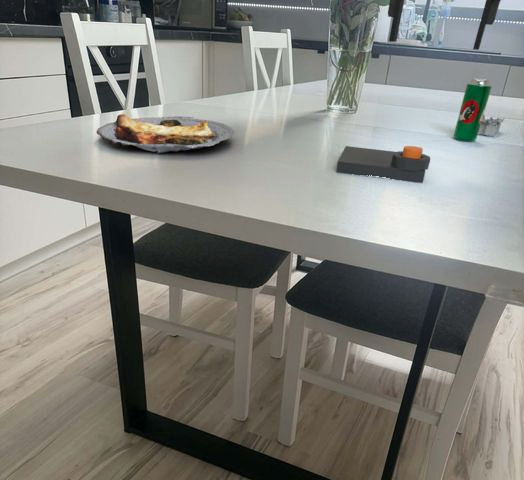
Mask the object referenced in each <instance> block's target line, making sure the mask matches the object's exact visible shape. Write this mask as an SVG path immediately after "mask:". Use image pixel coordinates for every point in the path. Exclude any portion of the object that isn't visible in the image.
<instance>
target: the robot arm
mask: <svg viewBox="0 0 524 480" xmlns="http://www.w3.org/2000/svg"><path fill="white" fill-rule="evenodd" d="M501 1H502V0H485V3H484V7H483V11H482V15H481V17H480V22H479V25H478V28H477V33H476V36H475V40H474V44H473V48H472V50H476V51H477V50H478V51H479V50H480V47H481V44H482V40H483V36H484V33H485V29H486V25H488V26H492V25H493V24H494V22H495V21H496V17H497V15H498V10H499V6H500V4H501ZM404 3H405V0H389V3H388V8H387V9H388V10H387V17H388V18H392V21H391V27H390V32H389V37H388V42H389V43H395V42H397V40H398V36H399V29H400V26H401V25H400V24H401V19H402V14H403V9H404Z"/></svg>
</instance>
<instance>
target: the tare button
mask: <svg viewBox="0 0 524 480" xmlns="http://www.w3.org/2000/svg"><path fill="white" fill-rule="evenodd" d="M402 151H403V153H402V156H403V157H407V158H414V159H421V155H422V154H423V148H422V147H420V146H415V145H405V146H403V149H402Z"/></svg>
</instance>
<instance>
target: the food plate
mask: <svg viewBox="0 0 524 480" xmlns="http://www.w3.org/2000/svg"><path fill="white" fill-rule="evenodd" d="M96 134H97V135H99V136H100V137H101V139H102V140H105V141H109V144H111V143H112V144H114V145H115V144H117V143H120V144H121V145H122V146H130V145H131V146H135V147H137V148H139V149H142V150H144V151H148V152H154V153H155V152H157V154H160V153H167V152H179V151H187V150H197V149H202V148H205V147H206V148H208V147H212V146H214V145H217V144H220V142H223V141H225V140H230V138H231V137H233V136H234V135H235V128H234V127H232V126H229V125H228V124H226V123H223V122H220V121H214V120H209V119H200V118H198V117H197V118H196V117H195V118H194V117H191V116H160V117H159V116H158V117H153V116H152V117H137V118H136V117H135V118H131V117H130V116H129V115H127V114H123V113H122V114H118V115H117V116H116V119H115V121H114V122H108V123H106V124H104V125H102V126H100V127H98V128H97V129H96Z"/></svg>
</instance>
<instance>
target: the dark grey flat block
mask: <svg viewBox="0 0 524 480" xmlns="http://www.w3.org/2000/svg"><path fill="white" fill-rule="evenodd" d="M402 153H403V150H401V151H400V150H399V151H392V150H383V149H376V148H375V149H374V148H367V147H357V146H350V145H346V146H344V149H343V151H342V152H341V155H340V156H339V158H338V160H337V164H336V171H335V173H338V174H345V175H352V174H354V175H353V176H360V175H368V176H369V175H370V176H371V175H372V176H379V177H386V178H390V179H389V180H392V179H394V180H393V181H400V180H401V181H403V182H407V183H417V184H423V183H424V179H425V174H426V171H427V170H429V167H430V162H431V156H429V155H427V154H425V153H422V155H421V159H414V158H407V157H403V156H402ZM368 176H367V177H368Z"/></svg>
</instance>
